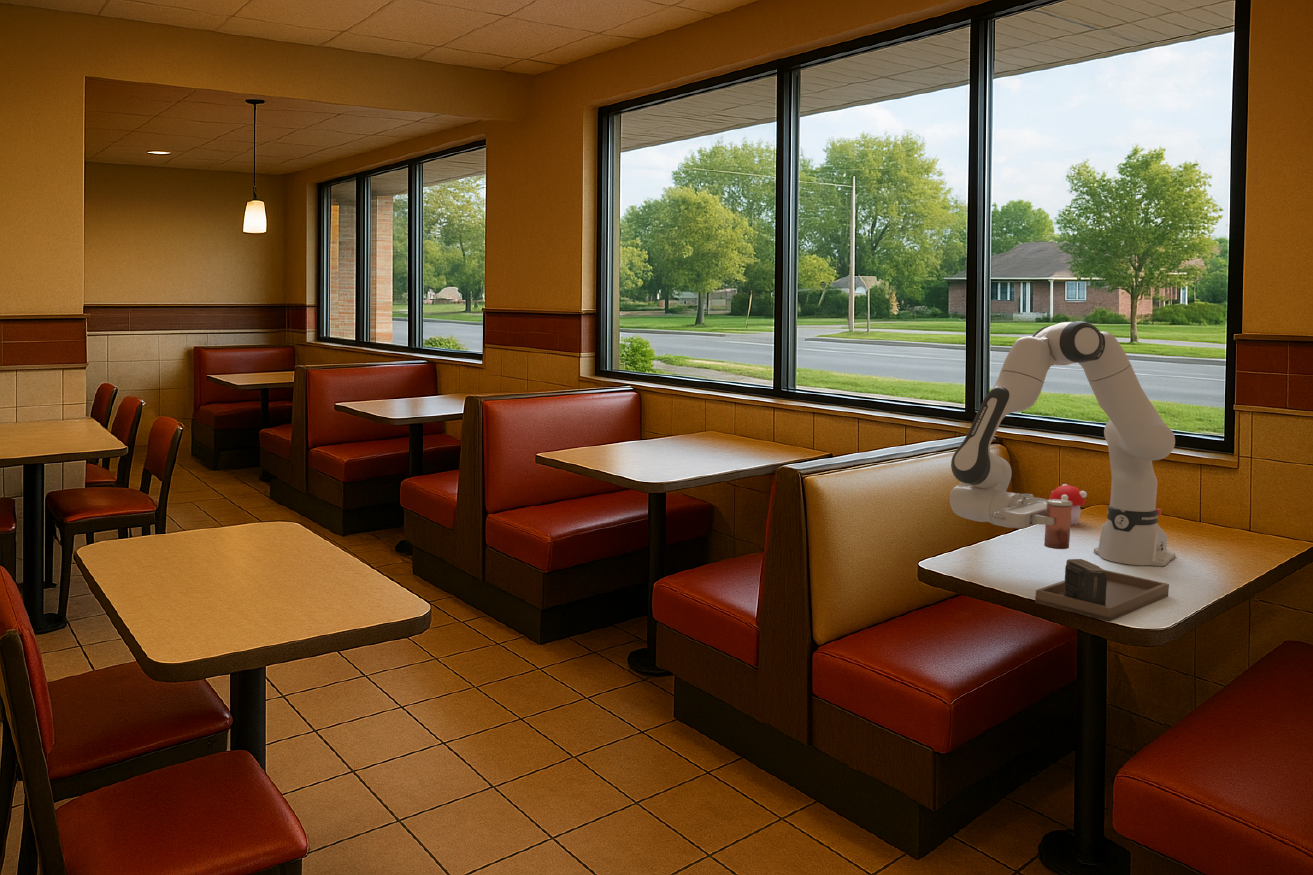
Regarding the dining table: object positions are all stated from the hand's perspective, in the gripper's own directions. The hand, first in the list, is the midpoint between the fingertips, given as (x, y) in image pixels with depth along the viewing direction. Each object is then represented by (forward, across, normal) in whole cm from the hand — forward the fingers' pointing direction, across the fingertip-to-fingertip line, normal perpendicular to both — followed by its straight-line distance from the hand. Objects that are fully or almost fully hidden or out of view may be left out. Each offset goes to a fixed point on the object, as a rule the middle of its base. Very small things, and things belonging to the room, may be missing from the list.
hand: (1062, 519), depth 234 cm
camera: (+12, -11, +17) cm, 23 cm away
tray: (+12, -2, +17) cm, 21 cm away
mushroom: (-34, +69, +17) cm, 79 cm away
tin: (-1, 0, +7) cm, 7 cm away
